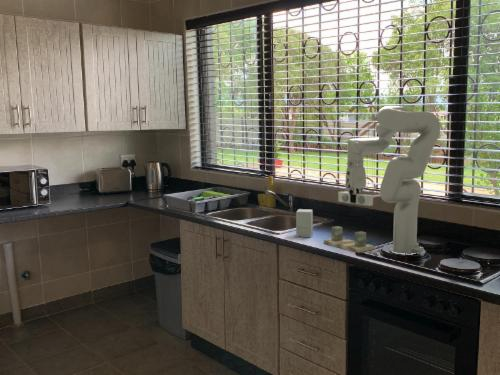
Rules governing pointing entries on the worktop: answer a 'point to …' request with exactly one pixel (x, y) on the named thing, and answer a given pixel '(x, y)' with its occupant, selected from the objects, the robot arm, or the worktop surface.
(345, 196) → the glasses
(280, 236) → the worktop surface
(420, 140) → the robot arm
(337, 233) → the display stand
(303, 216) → the supplement box
